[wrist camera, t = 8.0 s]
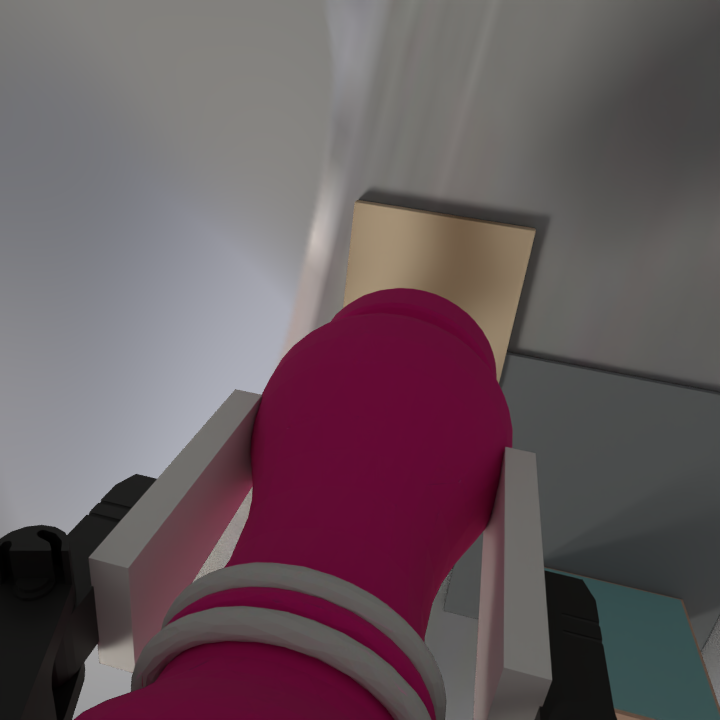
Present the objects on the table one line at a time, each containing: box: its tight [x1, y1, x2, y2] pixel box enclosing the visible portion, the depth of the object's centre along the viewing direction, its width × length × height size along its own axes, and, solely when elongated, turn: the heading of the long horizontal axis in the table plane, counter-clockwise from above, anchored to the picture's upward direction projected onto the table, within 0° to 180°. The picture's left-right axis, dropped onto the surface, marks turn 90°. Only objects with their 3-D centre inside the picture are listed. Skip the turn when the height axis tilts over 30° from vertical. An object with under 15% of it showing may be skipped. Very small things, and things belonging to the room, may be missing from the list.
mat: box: [443, 352, 720, 651], centre depth 32 cm, size 14×17×1 cm
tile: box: [544, 567, 720, 720], centre depth 30 cm, size 8×2×8 cm, turn 83°
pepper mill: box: [74, 288, 513, 720], centre depth 13 cm, size 7×7×20 cm
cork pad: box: [343, 200, 536, 383], centre depth 29 cm, size 8×8×1 cm
